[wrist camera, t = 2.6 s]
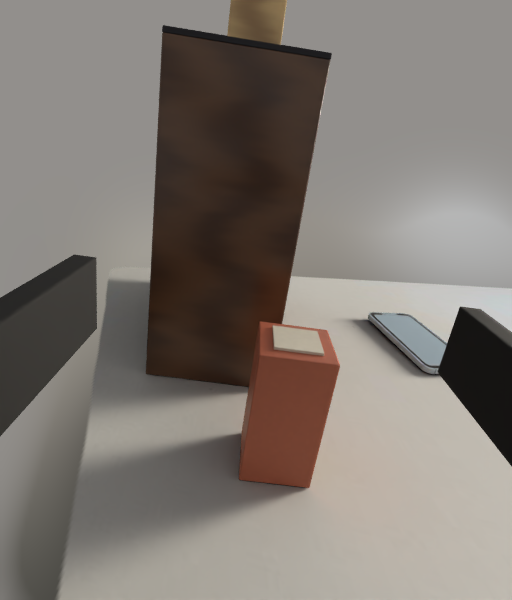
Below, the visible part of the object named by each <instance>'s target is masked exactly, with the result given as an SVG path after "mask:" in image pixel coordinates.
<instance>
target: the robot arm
mask: <svg viewBox="0 0 512 600" xmlns="http://www.w3.org/2000/svg"><path fill="white" fill-rule="evenodd" d="M96 304H97V303H96V258H95V257H88V256H80V255H73V256H71V257H69V258H68V259H66V260H64V261H62V262H61V263H59V264H57V265H56V266H54V267H52V268H51V269H49V270H47V271H46V272H44V273H42V274H40V275H38V276H37V277H35V278H34V279H32V280H30V281H28V282H26V283H25V284H23V285H21V286H20V287H18V288H16V289H14V290H13V291H11V292H9V293H8V294H6V295H4V296H3V297H1V298H0V436H1V435H2V434H3V433H4V431H5V430H6V429H7V428H8V427H9V426H10V424H12V422H13V421H14V420H15V419H16V418H17V417H18V416H19V415H20V414H21V412H22V411H23V410H24V409H25V408H26V407H27V406H28V405H29V404H30V402H31V401H32V400H33V399H34V398H35V397H36V396H37V394H38V393H39V392H40V391H41V390H42V389H43V388H44V387H45V386H46V385H47V383H48V382H49V381H50V380H51V379H52V378H53V377H54V376H55V374H56V373H57V372H58V371H59V370H60V369H61V368H62V367H63V366H64V364H65V363H66V362H67V361H68V360H69V359H70V358H71V357H72V356H73V354H74V353H75V352H76V351H77V350H78V349H79V348H80V346H81V345H82V344H83V343H84V342H85V341H86V340H87V339H88V337H90V335H91V334H92V333H93V332H94V331H95V330H96V329H97V323H96V322H97V315H96V314H97V311H96V307H97V305H96ZM438 373H439V375H440V376H441V377H442V378H443V380H444V381H445V382H446V383H447V385H448V386H449V387H450V388H451V390H452V391H453V392H454V394H455V395H456V396H457V397H458V399H459V400H460V401H461V402H462V404H463V405H464V406H465V408H466V409H467V410H468V411H469V413H470V414H471V415H472V416H473V418H474V419H475V420H476V422H477V423H478V424H479V425H480V427H481V428H482V429H483V430H484V432H485V433H486V434H487V435H488V437H489V438H490V439H491V441H492V442H493V443H494V444H495V446H496V447H497V448H498V449H499V451H500V452H501V453H502V455H503V456H504V457H505V458H506V460H507V461H508V462H509V463H510V465H511V466H512V332H511V331H509V330H508V329H506V328H505V327H504V326H502V325H501V324H500V323H498V322H497V321H496V320H494V319H493V318H492V317H490V316H489V315H488V314H486V313H485V312H483V311H482V310H481V309H474V308H467V307H460V308H459V311H458V314H457V317H456V320H455V323H454V326H453V328H452V331H451V334H450V337H449V340H448V343H447V346H446V349H445V351H444V354H443V357H442V360H441V363H440V366H439V369H438Z"/></svg>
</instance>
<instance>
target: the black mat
mask: <svg viewBox="0 0 512 600" xmlns="http://www.w3.org/2000/svg"><path fill="white" fill-rule="evenodd" d="M162 32H165V33H171V34H177V35H183V36H189V37H195V38H202V39H208V40H214V41H220V42H226V43H232V44H238V45H244V46H250V47H256V48H262V49H268V50H274V51H281V52H287V53H293V54H299V55H305V56H311V57H317V58H323V59H329V60H330V59H331V55H332V54H331V53H328V52H322V51H316V50H309V49H303V48H297V47H291V46H285V45H279V44H273V43H267V42H261V41H255V40H249V39H243V38H237V37H231V36H225V35H218V34H213V33H206V32H201V31H195V30H188V29H182V28H176V27H170V26H164V25H163V29H162Z"/></svg>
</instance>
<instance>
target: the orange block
mask: <svg viewBox="0 0 512 600" xmlns="http://www.w3.org/2000/svg"><path fill="white" fill-rule="evenodd" d="M339 368H340V364H339V361H338V359H337V356H336V353H335V350H334V348H333V345H332V342H331V339H330V337H329V334H328V331H327V330H321V329H314V328H306V327H299V326H291V325H284V324H276V323H269V322H261V321H260V322H259V327H258V334H257V340H256V346H255V352H254V358H253V365H252V371H251V377H250V383H249V390H248V396H247V402H246V408H245V415H244V421H243V427H242V436H241V452H240V468H239V480H245V481H254V482H263V483H271V484H280V485H289V486H297V487H306V488H309V487H310V483H311V479H312V475H313V471H314V467H315V463H316V459H317V455H318V451H319V447H320V443H321V439H322V435H323V431H324V427H325V423H326V419H327V415H328V412H329V408H330V404H331V400H332V396H333V392H334V388H335V384H336V380H337V376H338V372H339Z"/></svg>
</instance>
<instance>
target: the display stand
mask: <svg viewBox="0 0 512 600" xmlns="http://www.w3.org/2000/svg"><path fill="white" fill-rule="evenodd" d="M329 65H330V60H329V59H323V58H317V57H311V56H305V55H299V54H293V53H287V52H281V51H274V50H268V49H262V48H256V47H250V46H244V45H238V44H232V43H226V42H220V41H214V40H208V39H202V38H195V37H189V36H183V35H177V34H171V33H165V32H163V33H162V52H161V73H160V93H159V113H158V134H157V155H156V175H155V197H154V217H153V236H152V257H151V278H150V298H149V319H148V339H147V360H146V374H152V375H160V376H168V377H176V378H184V379H192V380H200V381H207V382H215V383H223V384H231V385H239V386H247V387H249V383H250V377H251V371H252V365H253V358H254V352H255V346H256V340H257V334H258V327H259V322H260V321H261V322H269V323H276V324H282V321H283V316H284V310H285V305H286V300H287V294H288V289H289V283H290V278H291V272H292V267H293V261H294V256H295V250H296V245H297V239H298V234H299V229H300V223H301V218H302V212H303V207H304V202H305V196H306V191H307V185H308V179H309V174H310V169H311V163H312V158H313V153H314V147H315V142H316V136H317V131H318V125H319V120H320V114H321V109H322V103H323V98H324V92H325V87H326V82H327V76H328V71H329Z"/></svg>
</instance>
